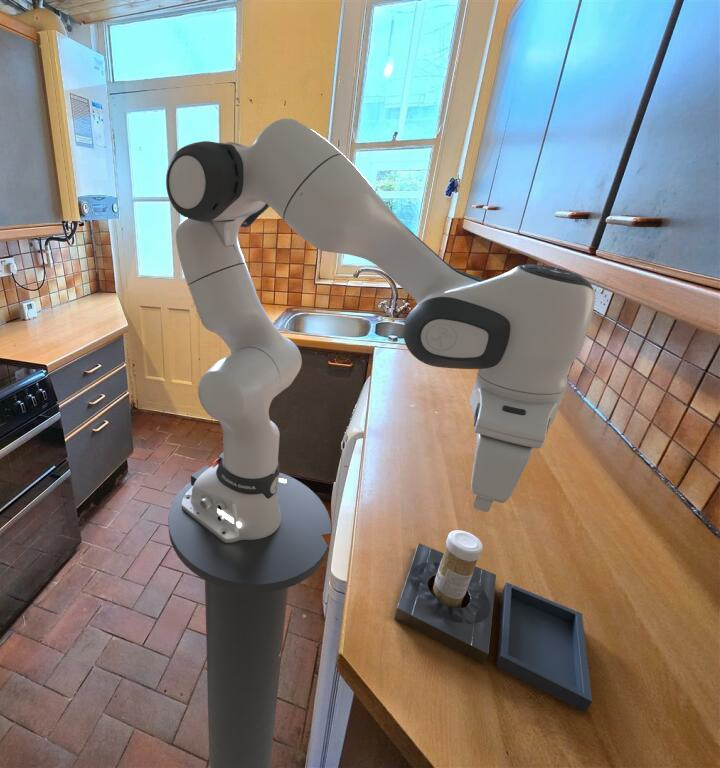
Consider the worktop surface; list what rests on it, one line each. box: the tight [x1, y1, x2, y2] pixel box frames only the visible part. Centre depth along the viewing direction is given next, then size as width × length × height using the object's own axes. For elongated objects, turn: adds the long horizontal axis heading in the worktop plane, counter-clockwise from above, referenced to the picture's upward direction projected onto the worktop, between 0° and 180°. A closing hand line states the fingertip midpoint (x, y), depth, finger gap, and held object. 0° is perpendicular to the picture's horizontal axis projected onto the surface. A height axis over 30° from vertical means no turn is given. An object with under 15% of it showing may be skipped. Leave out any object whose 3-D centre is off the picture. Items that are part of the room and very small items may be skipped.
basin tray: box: [495, 581, 593, 713], centre depth 59 cm, size 10×15×2 cm, turn 144°
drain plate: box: [394, 542, 497, 666], centre depth 66 cm, size 12×16×2 cm
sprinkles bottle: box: [430, 529, 484, 608], centre depth 64 cm, size 5×5×13 cm
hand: (484, 488), depth 57 cm, fingers open, 8 cm apart
